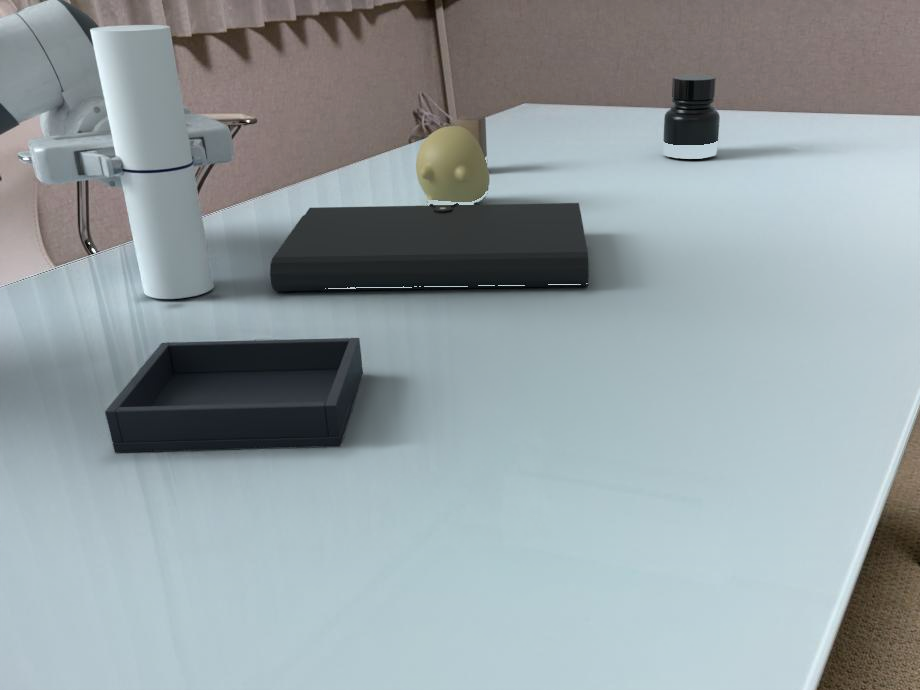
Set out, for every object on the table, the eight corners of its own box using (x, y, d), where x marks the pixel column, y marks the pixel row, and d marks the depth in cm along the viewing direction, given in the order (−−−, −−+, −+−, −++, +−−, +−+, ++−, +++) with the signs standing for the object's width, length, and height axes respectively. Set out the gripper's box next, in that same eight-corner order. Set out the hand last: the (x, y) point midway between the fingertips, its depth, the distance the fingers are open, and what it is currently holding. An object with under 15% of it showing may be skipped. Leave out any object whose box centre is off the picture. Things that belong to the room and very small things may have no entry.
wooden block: (488, 169, 166) (486, 115, 162) (481, 174, 163) (478, 119, 159) (463, 168, 167) (461, 115, 163) (456, 173, 163) (453, 119, 159)
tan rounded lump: (491, 235, 144) (505, 170, 147) (475, 180, 133) (490, 111, 136) (423, 230, 146) (438, 166, 149) (401, 175, 135) (418, 107, 138)
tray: (114, 452, 77) (104, 411, 75) (168, 379, 90) (161, 342, 88) (340, 446, 77) (335, 405, 76) (363, 374, 90) (359, 337, 88)
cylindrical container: (148, 302, 107) (92, 32, 95) (140, 284, 113) (87, 26, 100) (218, 293, 110) (174, 28, 97) (208, 275, 115) (164, 23, 103)
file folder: (578, 199, 128) (588, 255, 108) (578, 233, 130) (588, 294, 110) (309, 204, 128) (267, 260, 108) (313, 237, 130) (273, 299, 110)
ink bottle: (729, 156, 173) (735, 77, 167) (697, 164, 167) (702, 82, 161) (682, 149, 179) (686, 72, 173) (649, 156, 173) (652, 78, 167)
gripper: (5, 122, 107) (41, 140, 97) (198, 103, 117) (249, 118, 108) (21, 186, 110) (57, 209, 100) (208, 162, 121) (257, 181, 111)
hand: (158, 162), depth 104 cm, fingers closed on cylindrical container, 7 cm apart
